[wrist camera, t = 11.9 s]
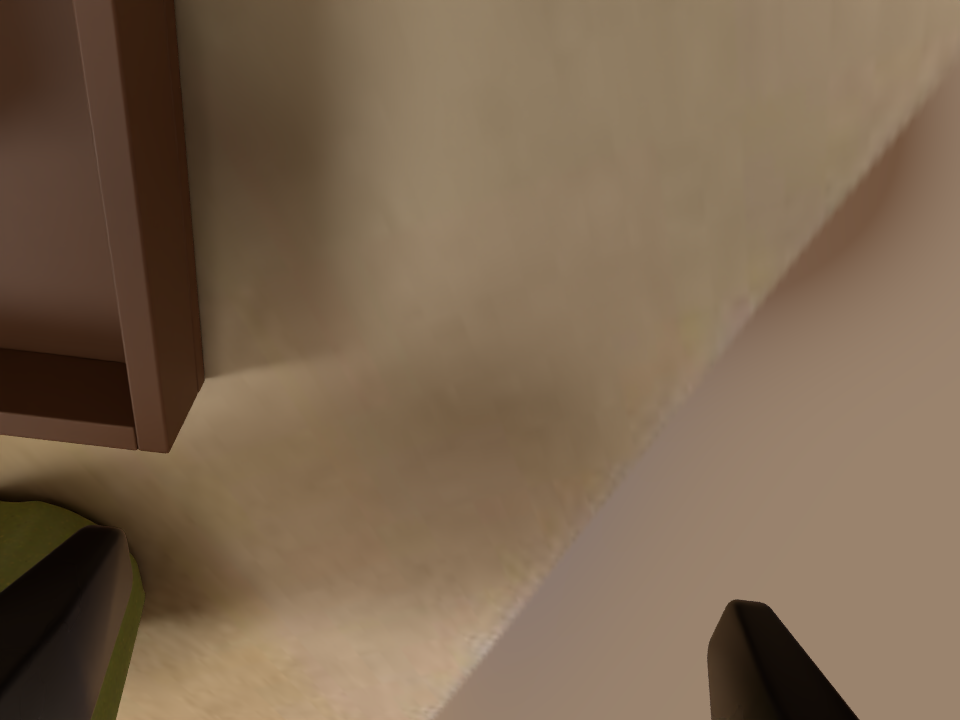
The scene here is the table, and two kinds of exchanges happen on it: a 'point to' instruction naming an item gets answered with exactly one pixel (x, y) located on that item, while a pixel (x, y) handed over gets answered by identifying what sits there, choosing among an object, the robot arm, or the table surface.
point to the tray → (95, 226)
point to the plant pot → (33, 535)
